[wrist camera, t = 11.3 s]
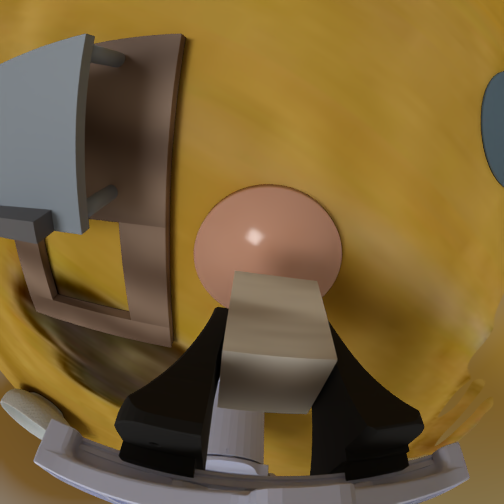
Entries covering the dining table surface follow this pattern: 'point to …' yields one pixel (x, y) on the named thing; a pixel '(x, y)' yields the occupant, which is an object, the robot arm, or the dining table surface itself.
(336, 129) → the dining table surface
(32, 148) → the grey miniature stool
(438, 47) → the dining table surface
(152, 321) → the puzzle board
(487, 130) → the cocktail glass
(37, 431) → the cereal bowl
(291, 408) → the block
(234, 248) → the dish
